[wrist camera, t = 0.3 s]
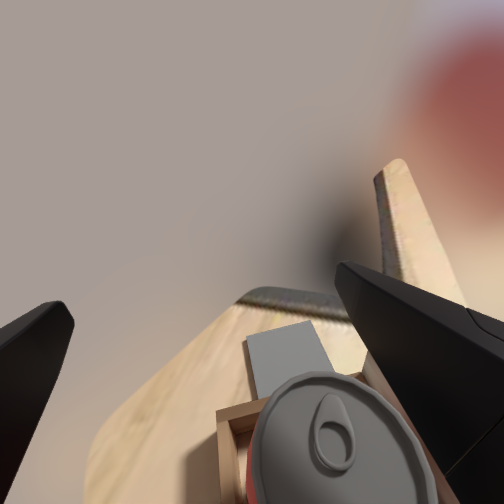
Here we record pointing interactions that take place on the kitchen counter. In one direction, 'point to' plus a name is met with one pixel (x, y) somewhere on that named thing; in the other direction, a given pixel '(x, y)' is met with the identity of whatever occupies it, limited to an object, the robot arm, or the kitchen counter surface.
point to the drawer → (248, 414)
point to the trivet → (285, 355)
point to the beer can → (335, 447)
